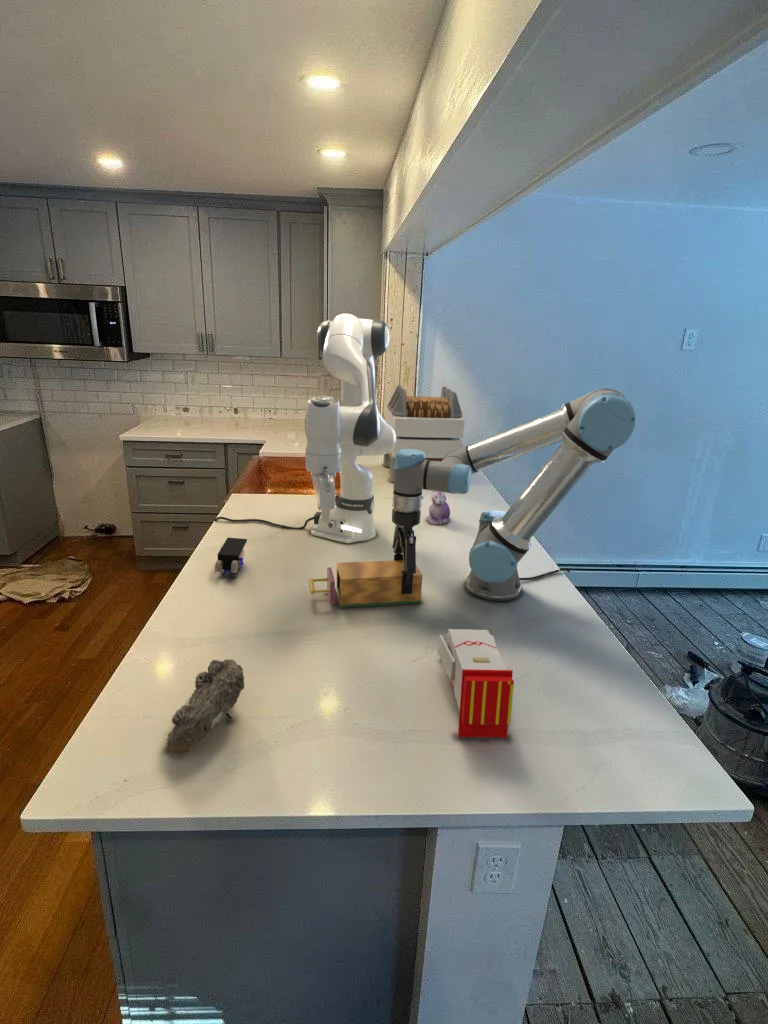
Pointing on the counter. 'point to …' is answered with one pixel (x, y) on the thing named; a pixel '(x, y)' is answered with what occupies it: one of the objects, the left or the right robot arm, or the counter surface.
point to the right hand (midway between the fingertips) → (402, 584)
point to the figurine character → (230, 556)
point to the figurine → (439, 508)
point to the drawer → (330, 585)
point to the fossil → (206, 705)
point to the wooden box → (375, 584)
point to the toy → (478, 682)
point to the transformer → (424, 425)
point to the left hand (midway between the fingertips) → (323, 515)
